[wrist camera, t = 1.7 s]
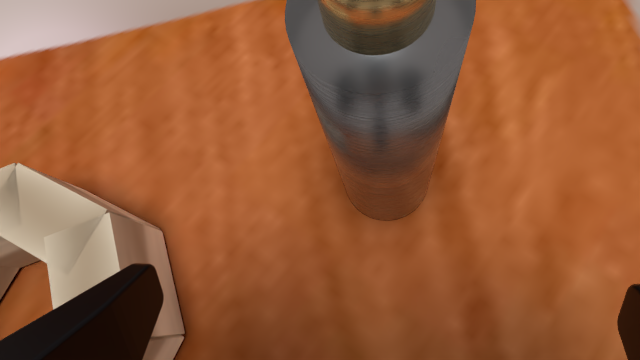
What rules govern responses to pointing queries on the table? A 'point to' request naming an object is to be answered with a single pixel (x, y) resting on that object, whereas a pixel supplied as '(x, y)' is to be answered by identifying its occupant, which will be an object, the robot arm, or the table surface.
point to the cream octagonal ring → (81, 244)
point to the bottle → (381, 89)
